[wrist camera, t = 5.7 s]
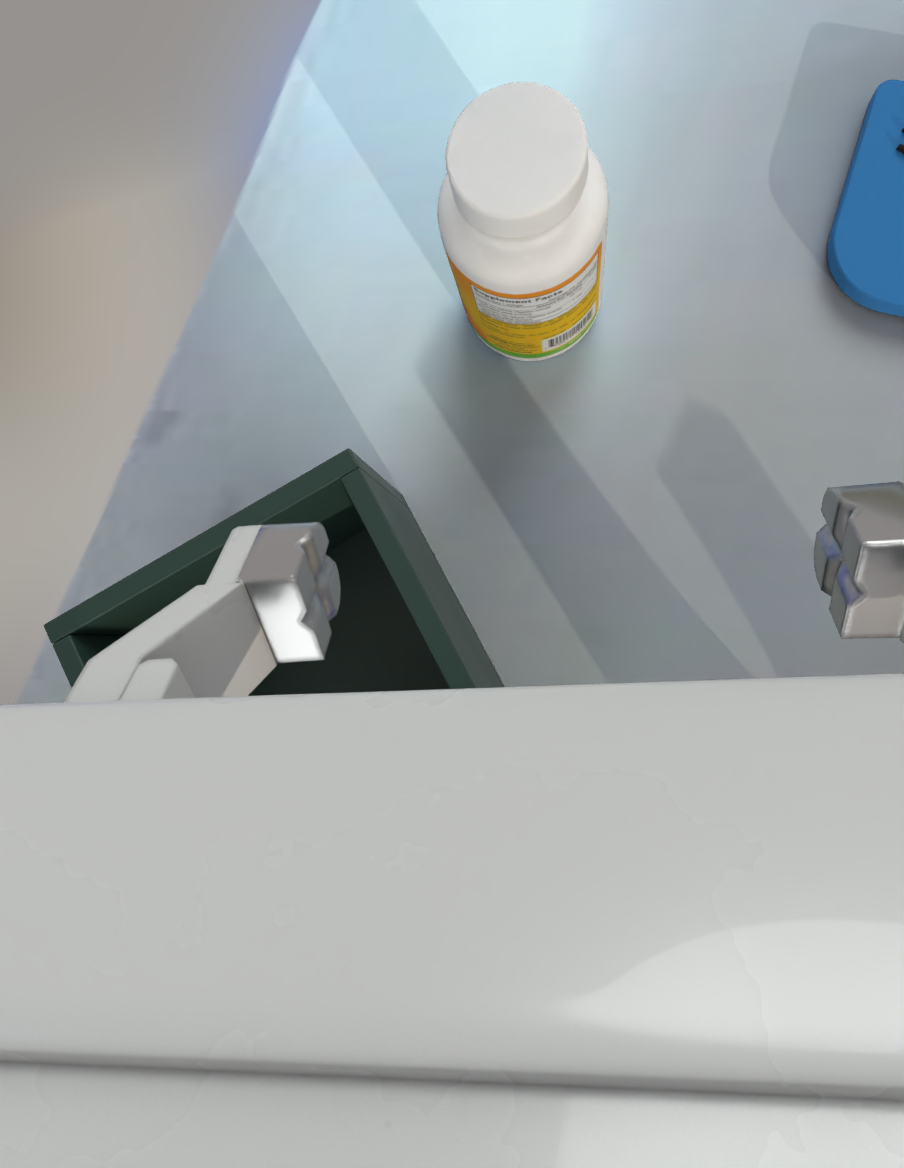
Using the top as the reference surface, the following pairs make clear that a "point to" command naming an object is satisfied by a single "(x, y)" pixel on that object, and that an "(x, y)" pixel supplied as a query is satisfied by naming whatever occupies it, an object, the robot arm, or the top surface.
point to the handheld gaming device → (873, 209)
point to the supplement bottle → (525, 220)
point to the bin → (367, 597)
